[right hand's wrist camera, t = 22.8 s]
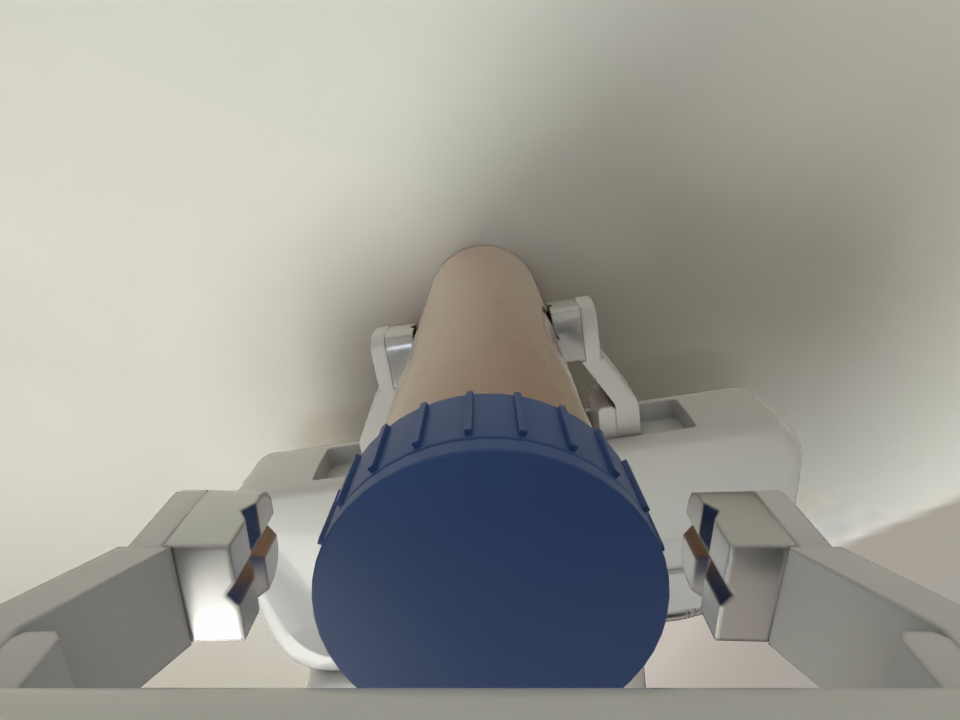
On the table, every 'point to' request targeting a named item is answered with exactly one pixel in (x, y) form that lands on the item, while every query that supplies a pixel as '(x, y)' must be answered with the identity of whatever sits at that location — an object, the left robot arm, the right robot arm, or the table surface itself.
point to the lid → (490, 554)
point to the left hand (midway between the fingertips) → (479, 315)
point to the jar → (485, 338)
